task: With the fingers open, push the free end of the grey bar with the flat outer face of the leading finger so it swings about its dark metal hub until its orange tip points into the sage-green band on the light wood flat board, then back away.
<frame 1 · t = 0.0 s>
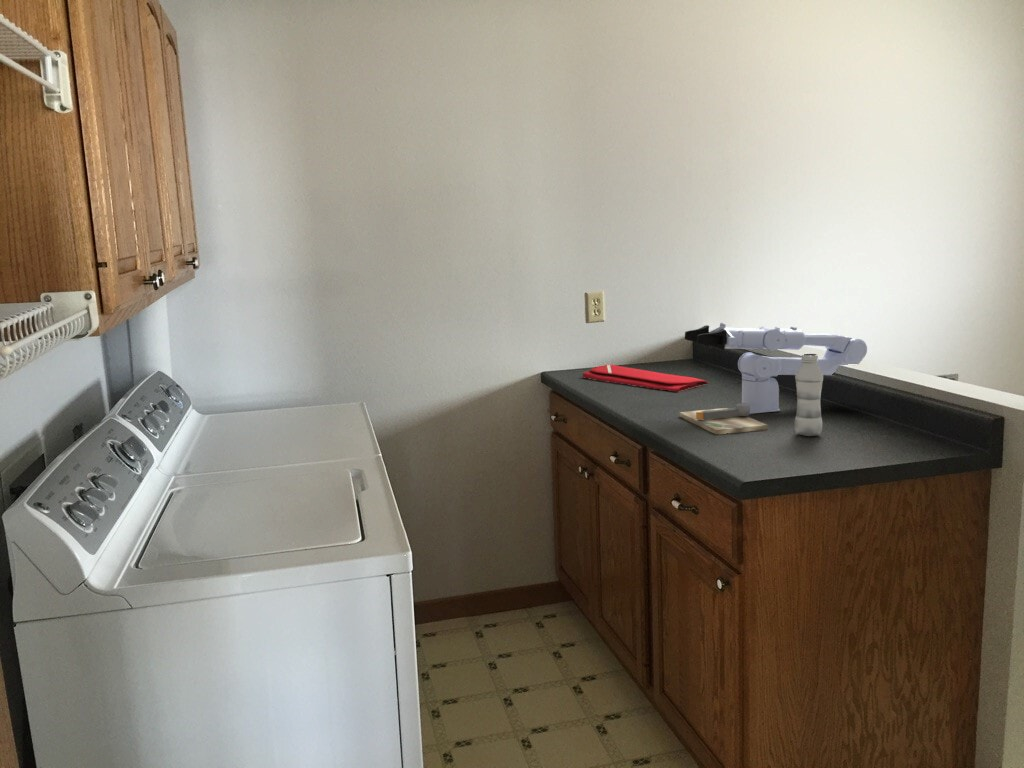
hand: (691, 337, 242), 22 cm above the worktop, tool horizontal, fingers open, 7 cm apart
light wood flat board: (721, 422, 238), on the worktop
plastic bottle: (808, 436, 221), on the worktop
grey bar: (723, 411, 237), point 3 cm above the worktop, hinge at 0.0°
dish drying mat: (642, 383, 299), on the worktop
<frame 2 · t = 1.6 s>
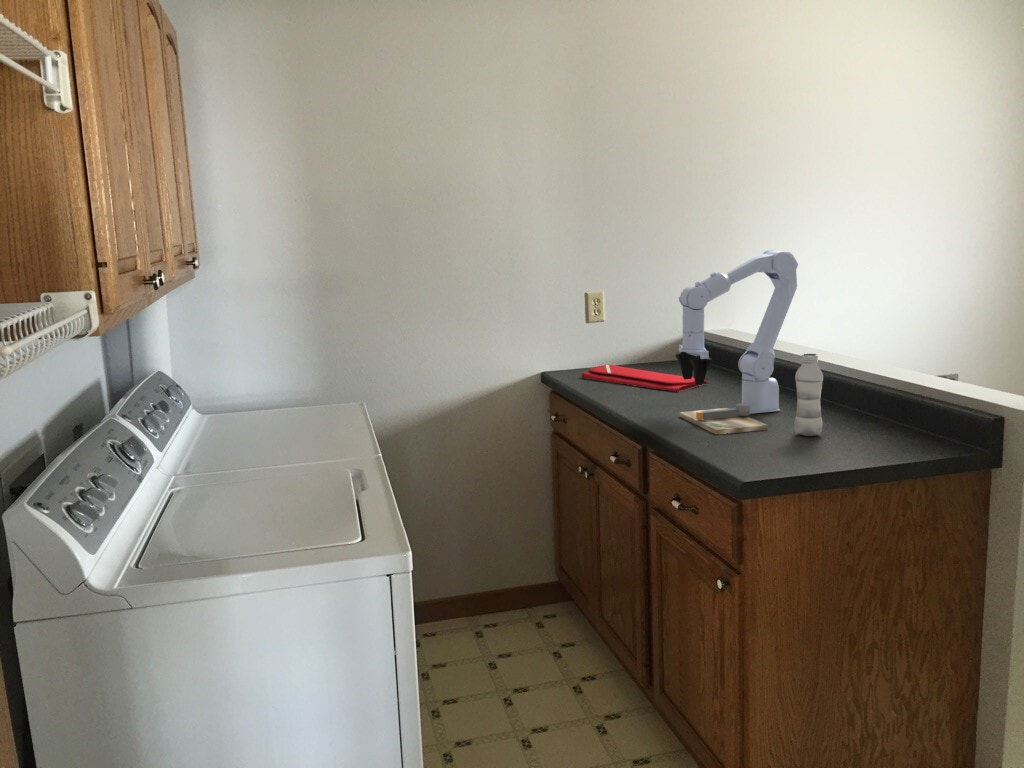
hand: (693, 381, 246), 9 cm above the worktop, tool pointing down, fingers open, 7 cm apart
nothing on the worktop moved.
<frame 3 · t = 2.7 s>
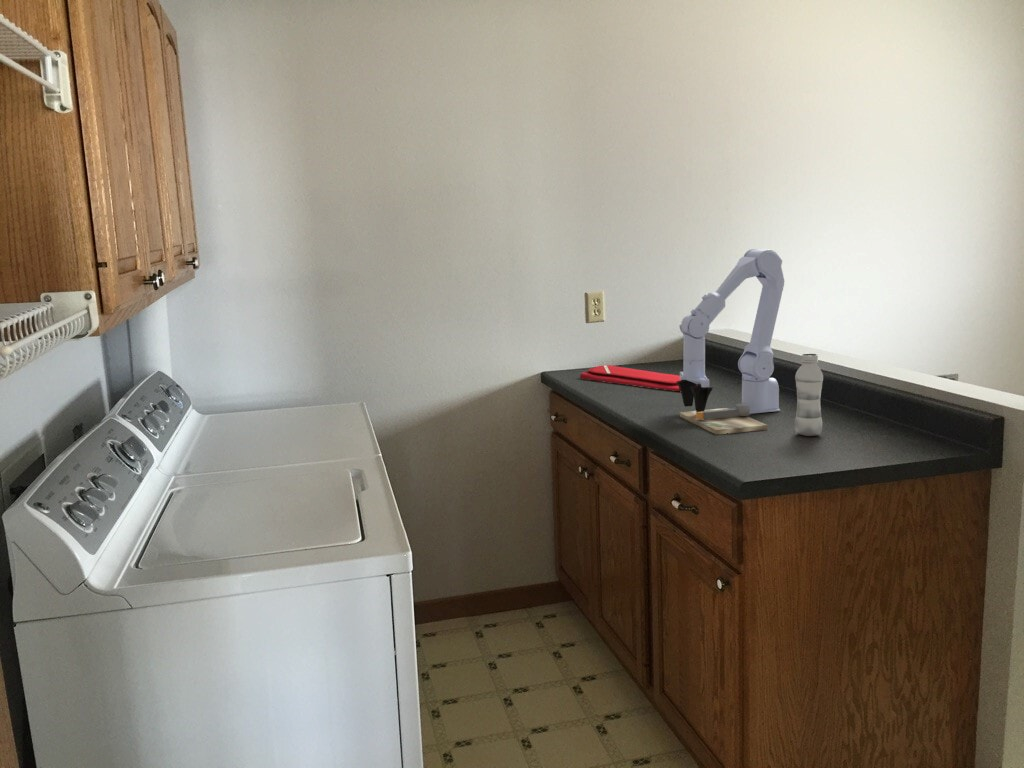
hand: (694, 408, 247), 2 cm above the worktop, tool pointing down, fingers open, 7 cm apart
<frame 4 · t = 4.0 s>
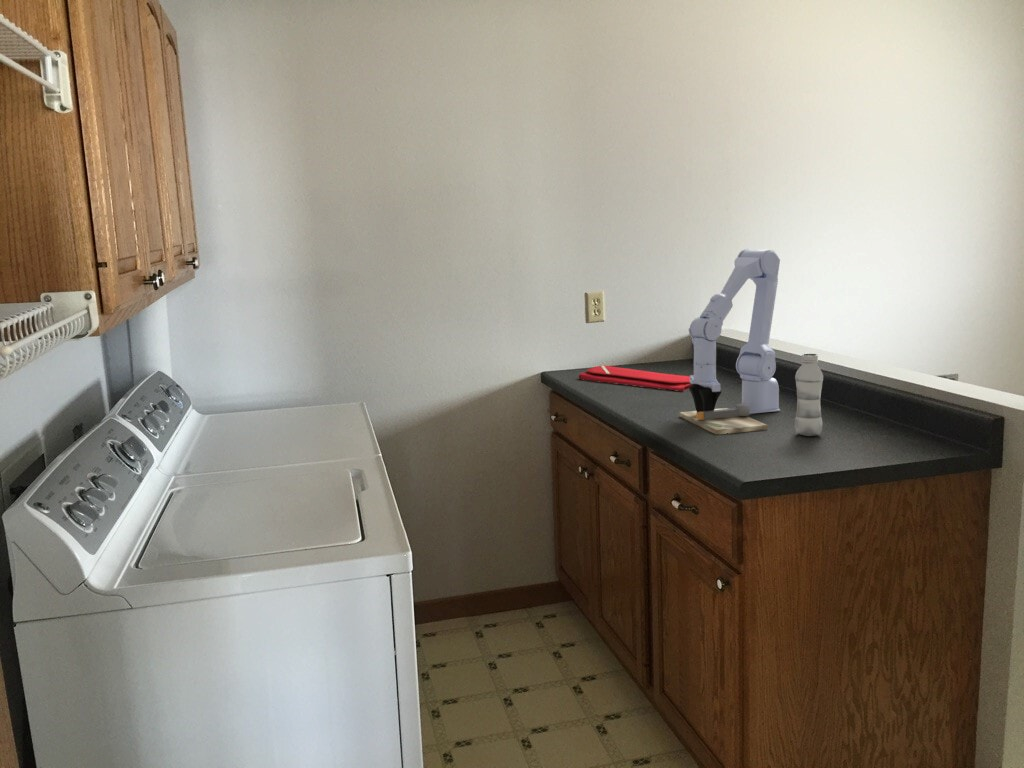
hand: (704, 413, 240), 2 cm above the worktop, tool pointing down, fingers open, 4 cm apart
grey bar: (723, 411, 237), point 3 cm above the worktop, hinge at 0.6°, touching gripper
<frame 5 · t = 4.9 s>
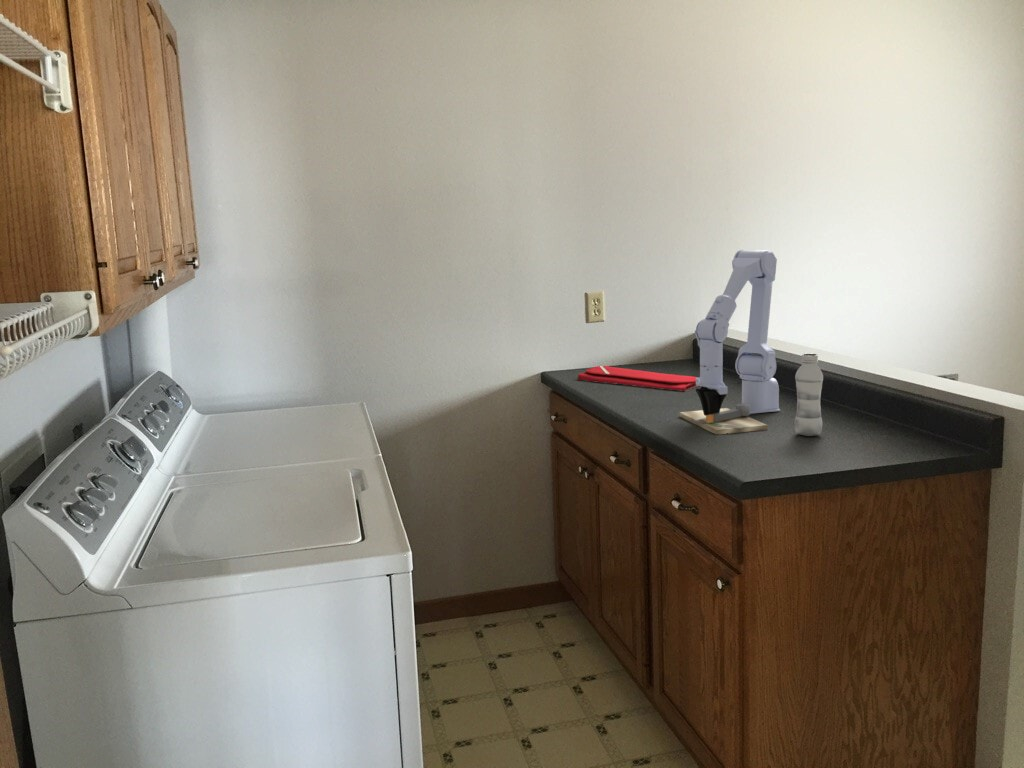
hand: (711, 416, 237), 2 cm above the worktop, tool pointing down, fingers open, 3 cm apart
grey bar: (728, 413, 235), point 3 cm above the worktop, hinge at 20.5°, touching gripper
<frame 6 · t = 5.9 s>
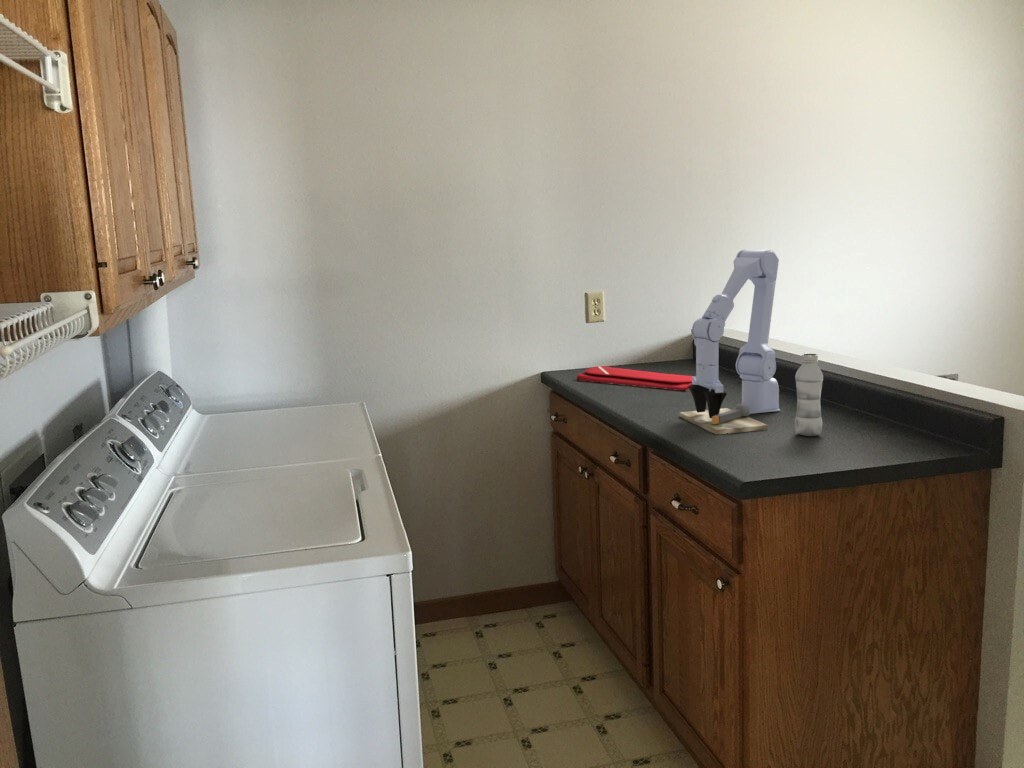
hand: (707, 414, 239), 2 cm above the worktop, tool pointing down, fingers open, 7 cm apart
grey bar: (730, 413, 235), point 3 cm above the worktop, hinge at 28.9°
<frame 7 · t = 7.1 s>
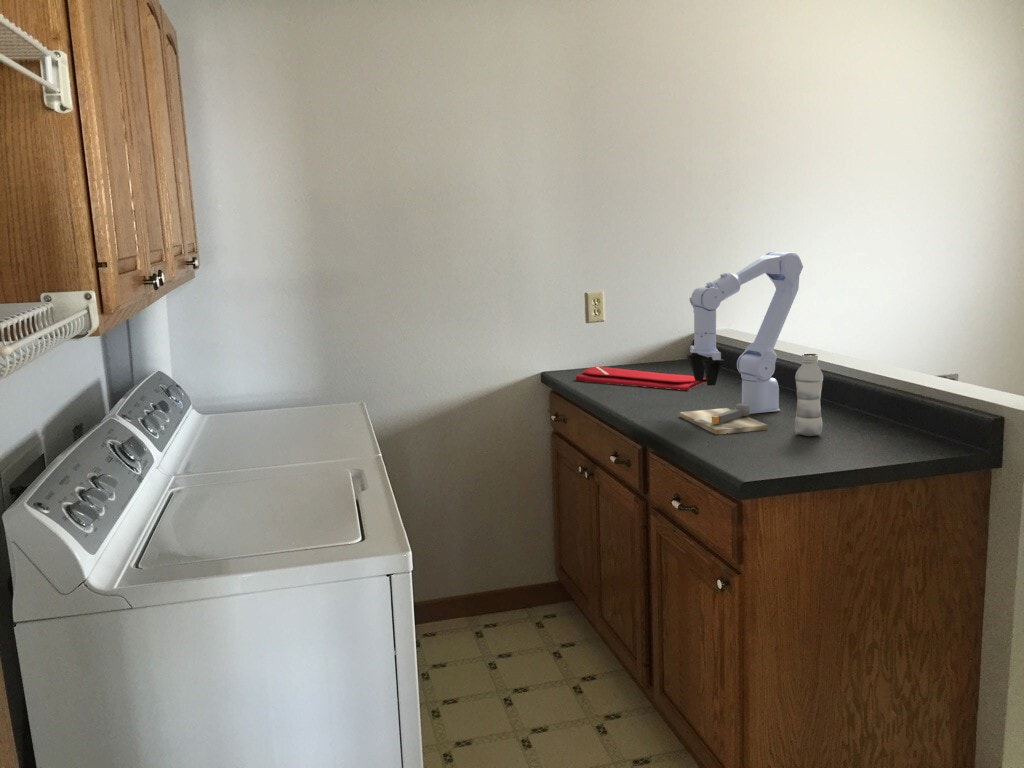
hand: (705, 382, 243), 9 cm above the worktop, tool pointing down, fingers open, 7 cm apart
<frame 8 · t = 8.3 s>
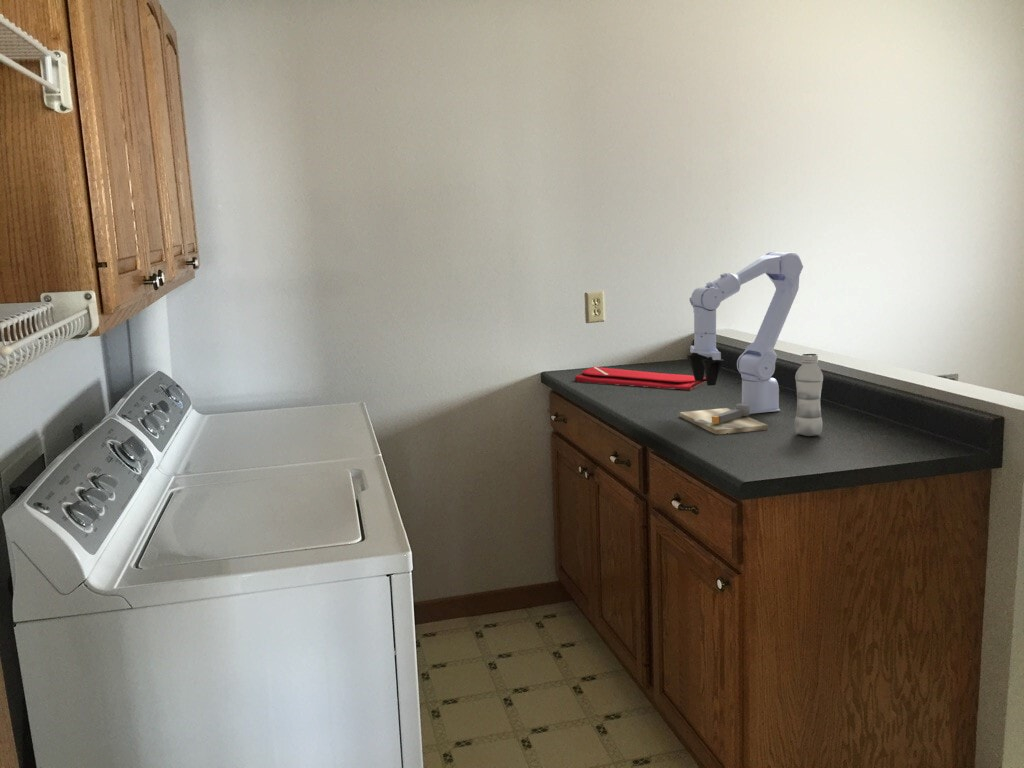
hand: (705, 382, 243), 9 cm above the worktop, tool pointing down, fingers open, 7 cm apart
at the end: grey bar at +29° (first picture: +0°) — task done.
